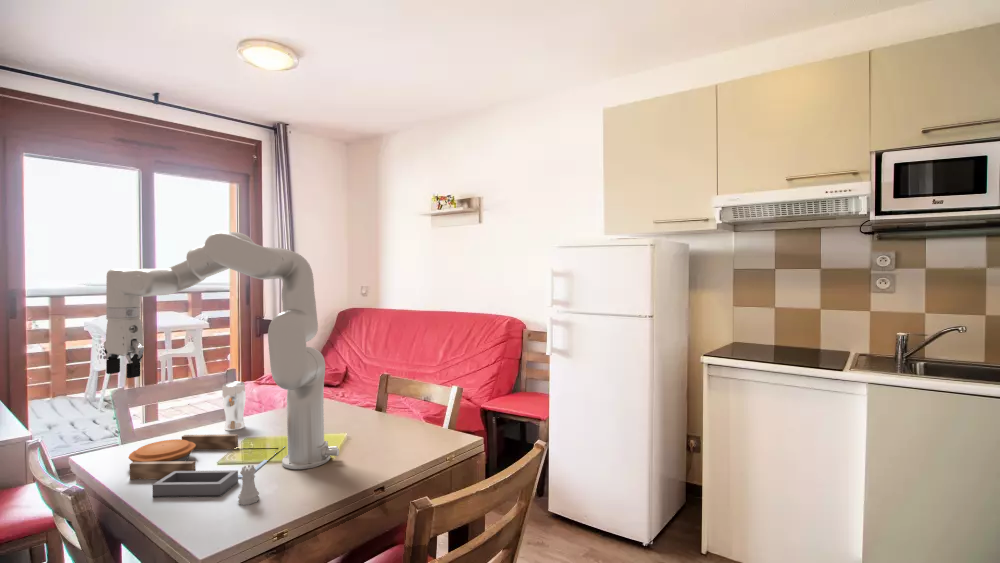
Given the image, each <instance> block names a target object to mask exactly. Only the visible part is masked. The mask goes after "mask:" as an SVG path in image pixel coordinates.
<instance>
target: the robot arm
mask: <svg viewBox="0 0 1000 563" xmlns="http://www.w3.org/2000/svg"><path fill="white" fill-rule="evenodd" d="M185 258H186V260H184V261H182V262H180V263H177V264H175V265H172V266H170V267H167V268H140V269H133V268H113V269H112V268H111V269H109V270H108V271H107V272H106V282H105V283H106V287H105V288H106V292H105V294H106V296H105V297H106V299H105V305H106V306H105V308H106V311H105V312H106V314H105V315H106V317H105V319H106V320H107V321H106V322H107V323H106V332H105V341H104V342H103V347H104V351H103V352H104V353H105V359H106V361H105V363H106V364H105V365H106V370H105V371H106V374H107V375H111V374H112V375H113V374H118V373H120V372H121V358H120V356H123V357H126V361H127V363H126V378H127V379H133V378H134V379H135V378H139V377H141V363H142V361H143V360H142V359H143V356H144V355H143V354H144V352H145V348H144V333H143V325H142V322H141V321H142V320H141V297H143V298H144V297H157V296H169V295H173V294H175V293H179V292H180V291H183V290H187V289H189V288H191V287H193V286H195V285H198V284H200V283H201V282H202V281H204V280H206V279H207V278H209V277H211V276H212V277H213V276H214V275H216V274H220V273H221V272H225V271H226V270H229V269H230V270H233V271H235V272H238V273H240V274H243V275H245V276H248V277H250V278H254V279H258V280H275V279H276V280H278V279H279V280H281V281H282V289H281V301H282V303H281V304H282V312H280V313H278V314H276V315H275V316H274V317H273V318H272V320H271V321H270V323H269V325H268V330H267V343H268V353H269V355H268V356H269V364H270V372H271V377H272V379H273V381H274V382H275V384H276V385H277V386H278V387H280V388H281V389H283V390H287V391H286V424H287V426H286V429H287V430H286V431H287V432H286V433H287V454H286V455H284V457H283V458H282V460H281V465H282V467H284V468H285V469H289V470H307V469H312V468H316V467H319V466H322V465H324V464H326V463H328V462H329V461H330V459H331V457H336V456H337V457H338V456H339V454H340V448H338V446H337V445H336V446H330V445H329V442H328V441H327V440H326V441H325V419H324V418H325V417H324V415H325V413H324V409H325V408H324V404H325V401H324V400H325V398H324V392H325V391H324V388H325V386H324V385H325V377H326V376H325V374H326V361H325V360H326V359H325V357H324V355H323V353H321V352H320V350H318V349H316V348H315V347H312V346H307V342H309V341H311V340H313V339H314V338H315V337H316V335H317V334H318V330H319V323H318V321H319V320H318V313H317V312H318V311H317V302H316V295H315V283H314V282H315V280H314V274H313V270H312V268H311V265H310V263H309V262H308V261H307V259H306V258H305V257H304V256H303V255H301V254H300V253H298V252H295V251H293V250H290V249H286V248H282V247H268V246H263V245H260V244H258V243H255V242H254V240H253V239H252V238H251V237H250V236H249V235H247V234H245V233H242V232H237V231H236V232H235V231H229V230H227V231H226V230H219V231H215V232H213V233H211V234H210V235H209V236H208V237H207V238H206V240H205V242H204V244H201V245H199V246H196V247H193V248H191V249H189V250H188V252H187V253H186V257H185ZM330 456H331V457H330Z"/></svg>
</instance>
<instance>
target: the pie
mask: <svg viewBox="0 0 1000 563" xmlns="http://www.w3.org/2000/svg"><path fill="white" fill-rule="evenodd" d="M195 447H196V444H195V443H193V442H189V441H187V440H182V439H179V438H177V439H167V440H160V441H155V442H151V443H148V444H145V445H143V446H141V447H139V448H137V449H136V450H133V451H132V452H131V453H130V454H129V456H128V459H129V460H130V461H131V463H132V462H166V461H188V458H189V457H190V456H191V453H192V452H193V451H194V450H193V449H194V448H195Z"/></svg>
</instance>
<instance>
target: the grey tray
mask: <svg viewBox="0 0 1000 563" xmlns="http://www.w3.org/2000/svg"><path fill="white" fill-rule="evenodd" d="M238 475H239V470H236V469H235V470H230V469H229V470H196V471H174V472H172V473H170V474H169V475H167V476H166V477H164V478H162V479H158V481H156V482H154V483H153V484H152V485H151V486H152V487H151V488H152V489H151V490H152V498H193V497H194V498H207V497H208V498H209V497H212V498H215V497H217V498H218V497H222V496H223V495H224V494H226V493H227V492H228V491H229V490H231V489H232V488H233V487H234V486H235V485H237V484H238V483H239V478H238Z"/></svg>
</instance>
